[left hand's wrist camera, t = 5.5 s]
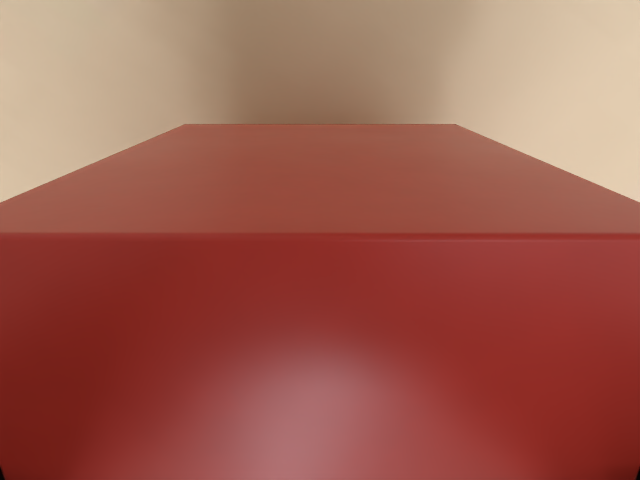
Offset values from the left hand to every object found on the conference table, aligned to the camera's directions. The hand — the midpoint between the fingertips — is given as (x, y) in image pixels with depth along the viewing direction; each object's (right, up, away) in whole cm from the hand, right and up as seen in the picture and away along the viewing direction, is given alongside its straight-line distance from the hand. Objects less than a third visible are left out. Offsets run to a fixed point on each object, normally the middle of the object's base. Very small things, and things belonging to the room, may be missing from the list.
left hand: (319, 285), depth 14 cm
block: (0, +1, +2) cm, 2 cm away
